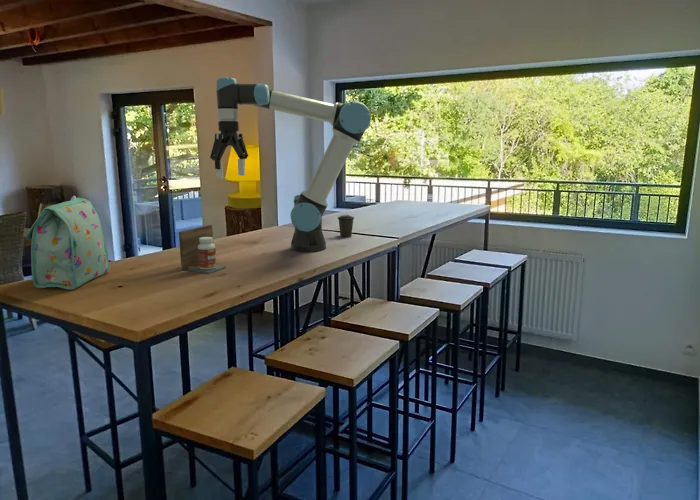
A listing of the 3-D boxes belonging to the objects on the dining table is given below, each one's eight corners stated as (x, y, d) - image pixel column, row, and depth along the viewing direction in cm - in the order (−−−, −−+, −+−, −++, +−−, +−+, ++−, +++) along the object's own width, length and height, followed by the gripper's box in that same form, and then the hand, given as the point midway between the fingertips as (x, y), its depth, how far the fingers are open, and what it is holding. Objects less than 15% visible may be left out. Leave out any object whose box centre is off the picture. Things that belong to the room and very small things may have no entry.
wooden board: (216, 261, 196) (214, 225, 192) (187, 271, 181) (184, 232, 178) (208, 260, 197) (206, 224, 194) (178, 269, 183) (176, 231, 180)
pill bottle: (210, 270, 180) (208, 240, 177) (195, 269, 181) (193, 239, 179) (219, 266, 185) (218, 236, 183) (205, 265, 187) (203, 235, 185)
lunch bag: (69, 271, 180) (60, 195, 174) (115, 272, 180) (107, 196, 174) (27, 290, 158) (15, 204, 152) (79, 291, 158) (69, 205, 151)
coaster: (225, 267, 186) (225, 266, 186) (209, 273, 178) (209, 272, 178) (206, 265, 190) (206, 263, 189) (189, 270, 182) (189, 269, 182)
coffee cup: (345, 238, 239) (345, 217, 237) (334, 236, 245) (334, 215, 243) (357, 236, 245) (357, 215, 242) (346, 233, 251) (346, 213, 248)
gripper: (240, 121, 206) (242, 174, 211) (198, 119, 184) (201, 178, 189) (255, 121, 203) (257, 174, 207) (214, 119, 181) (217, 179, 185)
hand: (231, 176), depth 198 cm, fingers open, 13 cm apart
